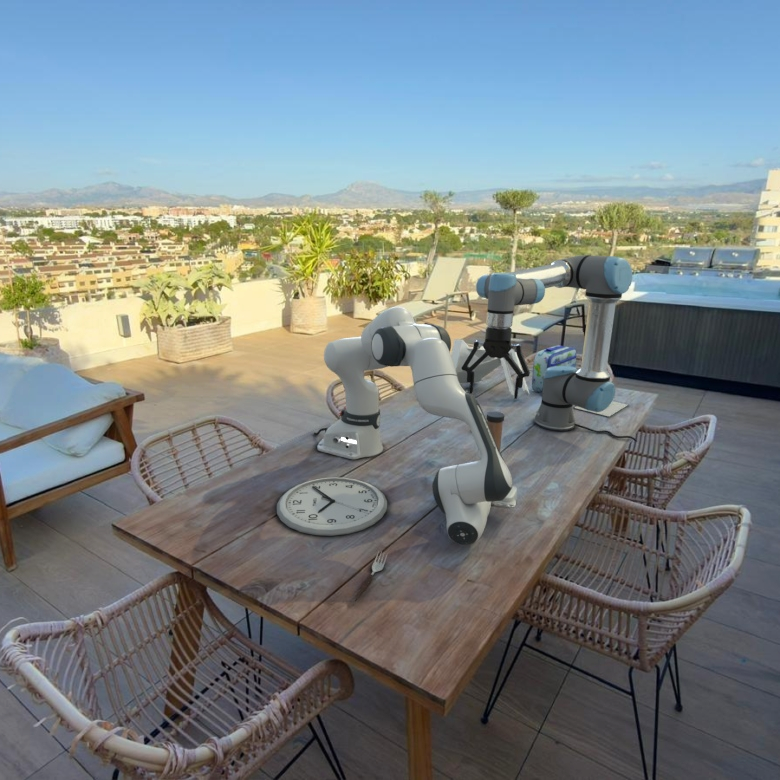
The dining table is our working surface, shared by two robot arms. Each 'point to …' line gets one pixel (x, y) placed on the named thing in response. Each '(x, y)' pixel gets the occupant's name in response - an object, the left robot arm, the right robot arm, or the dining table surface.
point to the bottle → (496, 432)
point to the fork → (375, 568)
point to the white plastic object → (482, 364)
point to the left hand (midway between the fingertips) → (482, 478)
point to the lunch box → (551, 363)
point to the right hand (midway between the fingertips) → (493, 395)
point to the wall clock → (331, 506)
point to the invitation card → (608, 409)
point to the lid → (495, 417)
